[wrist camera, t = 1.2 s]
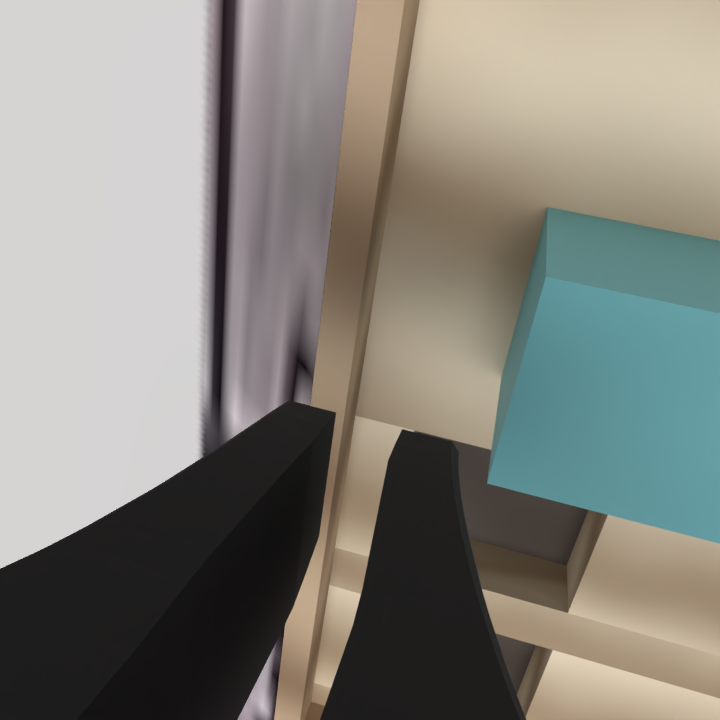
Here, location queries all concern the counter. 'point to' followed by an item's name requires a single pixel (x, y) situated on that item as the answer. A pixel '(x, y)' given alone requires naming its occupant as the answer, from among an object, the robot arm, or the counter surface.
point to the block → (616, 375)
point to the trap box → (507, 326)
